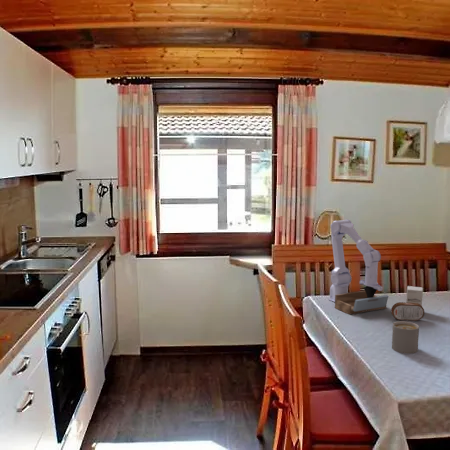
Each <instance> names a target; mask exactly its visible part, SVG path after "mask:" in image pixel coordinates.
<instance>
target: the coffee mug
mask: <svg viewBox="0 0 450 450" xmlns="http://www.w3.org/2000/svg"><path fill="white" fill-rule="evenodd" d="M419 333H420V326H419V324H417V323H414V322H411V321H406V320H398V321H395V322H393V323H392V335H391V336H392V337H391V340H392V341H391V349H392V350H393V351H395V352H397V353H400V354H405V353H406V354H409V355H410V354H411V355H413V354H416V353H417V352H418V351H419V335H420V334H419ZM406 354H405V355H406Z"/></svg>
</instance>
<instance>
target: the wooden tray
mask: <svg viewBox="0 0 450 450" xmlns="http://www.w3.org/2000/svg"><path fill="white" fill-rule="evenodd" d="M374 297H377V295H375V294H374ZM364 298H367V294H366V292H365V290H360V291H352V292H348V293H344V294H338V295H335V302H334V309H336V310H339V311H341V312H343V313H345V314H347V315H354V314H355V315H356V314H359V313H360V314H361V313H367V312H371V311H378V310H384V309H387V305H386V306H385V307H379V308H373V309H367V310H361V311H355V312H354V311H353V308H354V304H355V300H358V299H364Z"/></svg>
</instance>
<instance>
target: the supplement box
mask: <svg viewBox="0 0 450 450" xmlns="http://www.w3.org/2000/svg"><path fill="white" fill-rule="evenodd" d="M423 290H424V288H423V287H420V286H411V285H407V288H406V302H405V303H418V304H420V305H421V306H422V307H423V295H424V294H423V292H424V291H423Z"/></svg>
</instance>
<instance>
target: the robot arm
mask: <svg viewBox="0 0 450 450" xmlns="http://www.w3.org/2000/svg"><path fill="white" fill-rule="evenodd" d="M354 225H355V224H354V223H353V222H352V220H350V219H349V218H346V219H343V220H342V219H341V220H333V221H332V223H330V232H331V234H330V235H331V236H330V238H331V247H332V253H333V254H332V255H333V262H334V263H333V264H334V269H332V270H331V277H330V281H331V283H332V284H331V285H330V288H329V298H328V301H331V302H334V303H335V295H338V294H344V293H349V292H348V290H349V286H350V284H351V282H352V275H351V273H350V270H349V268H348V267H346V262H345V261H346V260H345V253H344V245H343V244H344V243H343V237H344V236H345V235H348V236H349V238H351V239H352V240H353V242H355V244H356V245H355V246H356V248H357V250H358V251H359V252H360V253H361V255H362V256H363V257H362V258H363V261H364V265H365V272H364V273H365V275H364V277H365V278H364V279H360V280H359V285H363V286H365V287H363V291H365V292H366V294H367V298H371V297H374V295H375V294H376V293H377V291H378V292H382V291H383V289H384V286H382V285H380V284H379V283H378V273H379V272H378V270H379V268H378V266H379V262H380V261H381V259H382V255H381V253H380V251H379V250H378V249H377V250H376V249H374V248H373V246H371V244H369V241H368V240H366V239H362V237H361V235H359V233H358V231H357V230H356V229H355V228H354Z"/></svg>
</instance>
